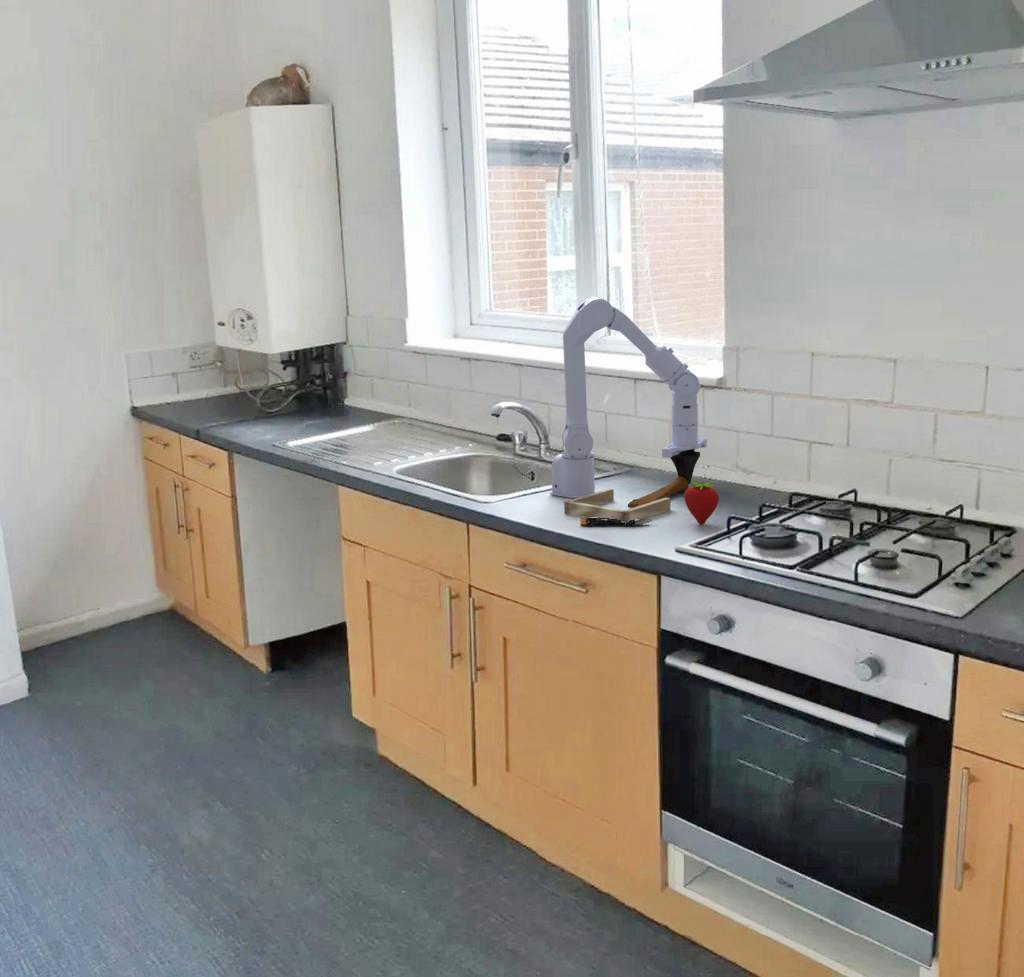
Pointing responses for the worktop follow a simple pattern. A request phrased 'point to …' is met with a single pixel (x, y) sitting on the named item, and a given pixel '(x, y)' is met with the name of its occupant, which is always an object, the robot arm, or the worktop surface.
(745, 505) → the worktop surface
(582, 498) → the box
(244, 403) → the worktop surface
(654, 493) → the primitive tool
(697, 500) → the strawberry
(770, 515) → the worktop surface
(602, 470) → the worktop surface
